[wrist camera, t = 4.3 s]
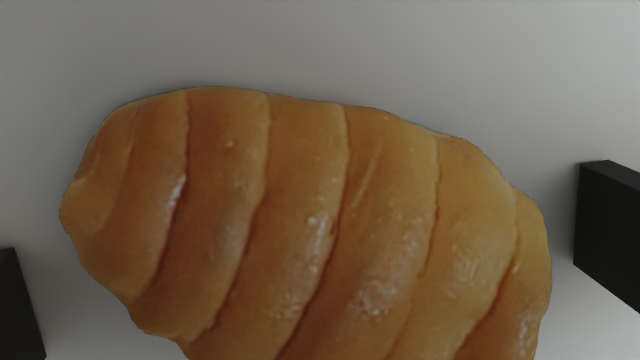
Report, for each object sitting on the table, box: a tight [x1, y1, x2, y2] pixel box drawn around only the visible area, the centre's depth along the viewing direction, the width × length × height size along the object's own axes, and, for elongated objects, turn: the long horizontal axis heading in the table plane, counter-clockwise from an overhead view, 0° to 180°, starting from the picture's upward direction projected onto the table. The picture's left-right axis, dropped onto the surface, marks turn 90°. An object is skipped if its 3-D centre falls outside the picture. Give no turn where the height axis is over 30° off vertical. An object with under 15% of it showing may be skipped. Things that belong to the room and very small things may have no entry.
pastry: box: [59, 86, 552, 360], centre depth 11 cm, size 9×7×4 cm
